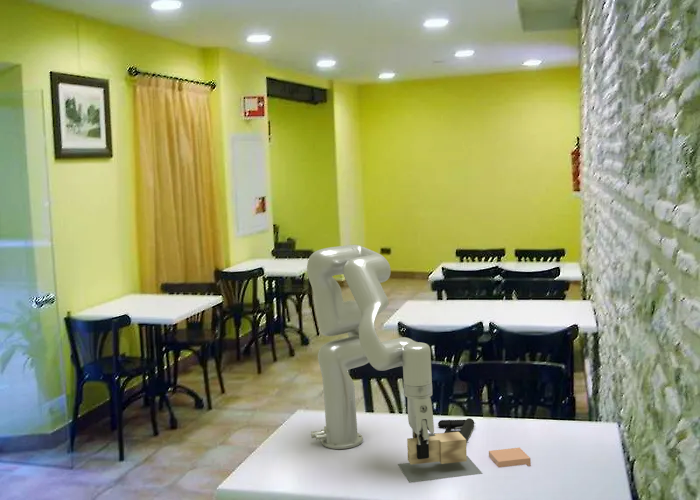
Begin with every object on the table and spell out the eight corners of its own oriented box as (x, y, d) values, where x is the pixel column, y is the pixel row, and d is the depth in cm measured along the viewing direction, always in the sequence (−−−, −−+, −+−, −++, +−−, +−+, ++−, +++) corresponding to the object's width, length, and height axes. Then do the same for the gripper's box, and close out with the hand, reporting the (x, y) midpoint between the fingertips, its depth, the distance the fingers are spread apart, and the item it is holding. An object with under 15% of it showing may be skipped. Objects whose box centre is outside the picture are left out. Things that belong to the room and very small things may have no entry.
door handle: (414, 439, 220) (468, 439, 215) (428, 417, 239) (477, 416, 233) (415, 450, 220) (469, 450, 215) (429, 427, 239) (479, 427, 234)
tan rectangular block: (498, 461, 199) (530, 458, 200) (488, 450, 207) (519, 447, 208) (498, 471, 199) (530, 467, 200) (489, 459, 207) (519, 456, 208)
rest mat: (409, 484, 193) (408, 482, 193) (397, 466, 206) (397, 464, 205) (482, 475, 196) (482, 473, 196) (467, 457, 209) (467, 455, 209)
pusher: (412, 466, 196) (411, 444, 196) (406, 457, 202) (405, 436, 202) (466, 461, 199) (466, 439, 198) (459, 452, 205) (458, 431, 204)
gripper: (440, 396, 190) (443, 465, 192) (423, 379, 206) (426, 443, 208) (412, 399, 189) (415, 469, 191) (397, 382, 205) (400, 446, 207)
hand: (421, 455), depth 200 cm, fingers closed on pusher, 3 cm apart
